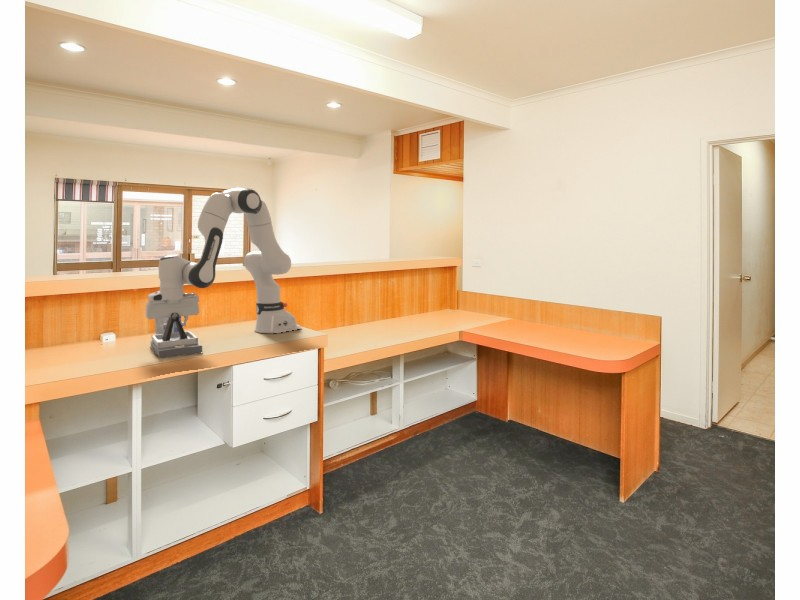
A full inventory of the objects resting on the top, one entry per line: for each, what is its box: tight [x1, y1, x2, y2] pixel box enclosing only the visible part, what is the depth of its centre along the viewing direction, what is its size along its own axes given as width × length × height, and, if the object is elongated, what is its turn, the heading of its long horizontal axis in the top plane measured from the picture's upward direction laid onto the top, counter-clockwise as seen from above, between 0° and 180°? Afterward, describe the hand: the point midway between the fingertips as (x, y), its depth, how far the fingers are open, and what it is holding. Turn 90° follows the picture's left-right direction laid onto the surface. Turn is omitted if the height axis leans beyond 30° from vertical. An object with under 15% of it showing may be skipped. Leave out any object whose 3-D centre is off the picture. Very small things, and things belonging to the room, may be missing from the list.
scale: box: [150, 330, 203, 359], centre depth 203 cm, size 16×20×5 cm
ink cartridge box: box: [154, 316, 182, 335], centre depth 220 cm, size 10×6×14 cm, turn 79°
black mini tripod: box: [162, 313, 188, 341], centre depth 204 cm, size 9×6×12 cm, turn 124°
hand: (174, 327), depth 204 cm, fingers open, 6 cm apart
